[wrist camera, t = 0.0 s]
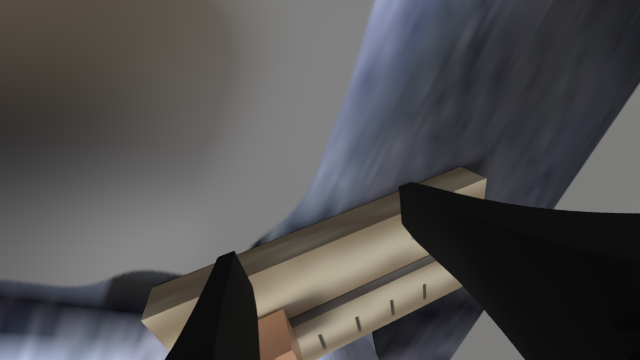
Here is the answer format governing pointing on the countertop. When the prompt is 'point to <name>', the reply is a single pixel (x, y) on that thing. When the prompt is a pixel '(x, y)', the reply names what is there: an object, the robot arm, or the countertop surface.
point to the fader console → (329, 275)
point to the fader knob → (278, 338)
